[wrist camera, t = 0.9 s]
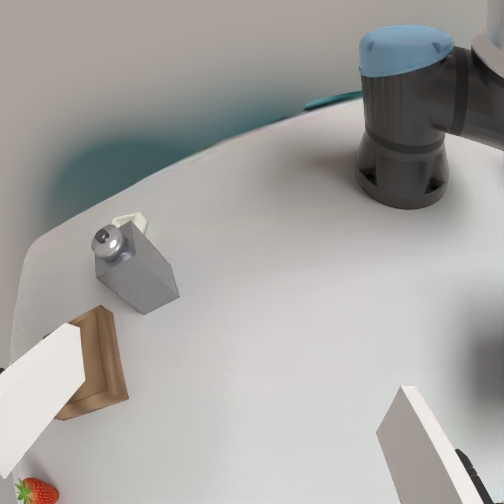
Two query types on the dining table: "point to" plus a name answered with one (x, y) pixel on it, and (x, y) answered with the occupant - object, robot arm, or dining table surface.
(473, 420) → the dining table surface
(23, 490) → the fruit
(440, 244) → the dining table surface
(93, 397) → the stand
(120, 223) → the box
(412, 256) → the dining table surface
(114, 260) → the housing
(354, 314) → the dining table surface
